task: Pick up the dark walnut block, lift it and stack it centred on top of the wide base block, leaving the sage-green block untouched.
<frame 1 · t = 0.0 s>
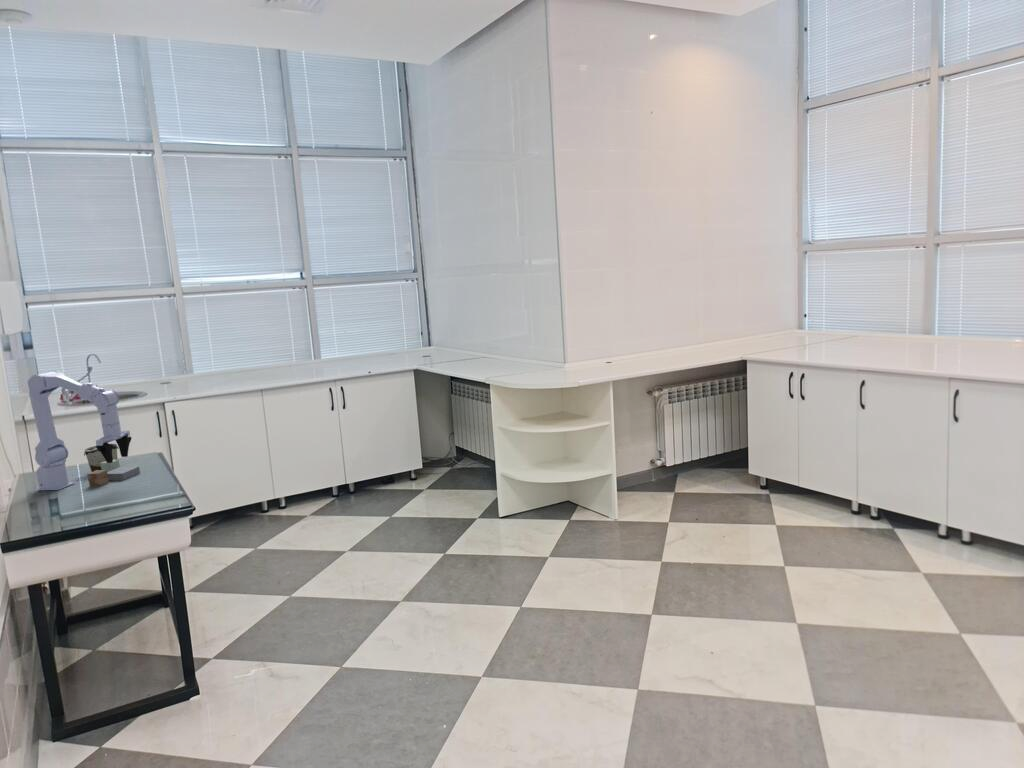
hand: (117, 459, 264), 10 cm above the table, fingers open, 7 cm apart
sage block: (111, 473, 286), on the table
base block: (122, 477, 279), on the table
food container: (103, 470, 292), on the table
walnut block: (99, 484, 270), on the table
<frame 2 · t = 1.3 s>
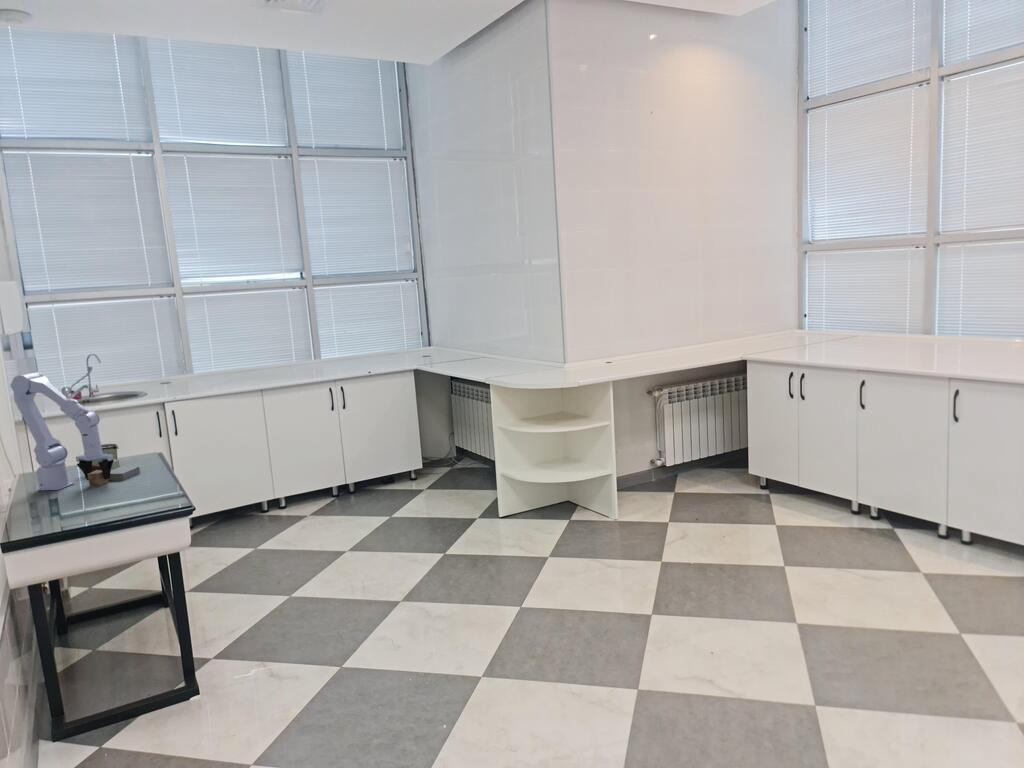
hand: (98, 479, 270), 2 cm above the table, fingers open, 7 cm apart
nothing on the table moved.
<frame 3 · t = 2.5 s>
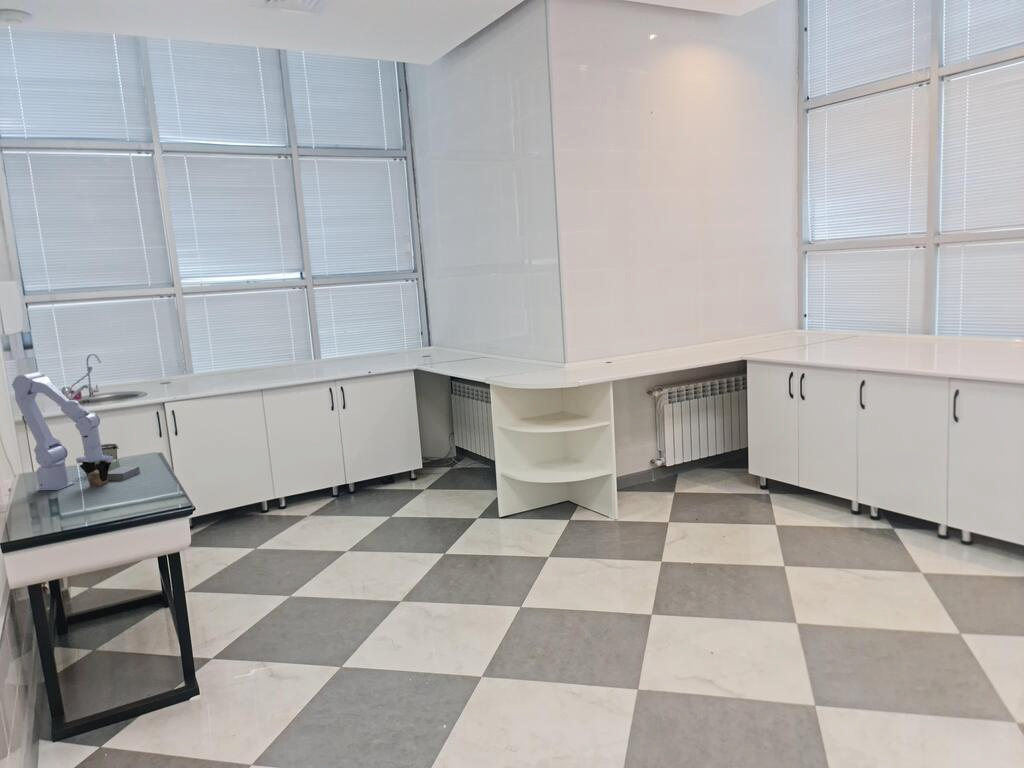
hand: (98, 480, 270), 1 cm above the table, fingers closed on walnut block, 4 cm apart
walnut block: (99, 484, 270), on the table, touching gripper
everything else where it was.
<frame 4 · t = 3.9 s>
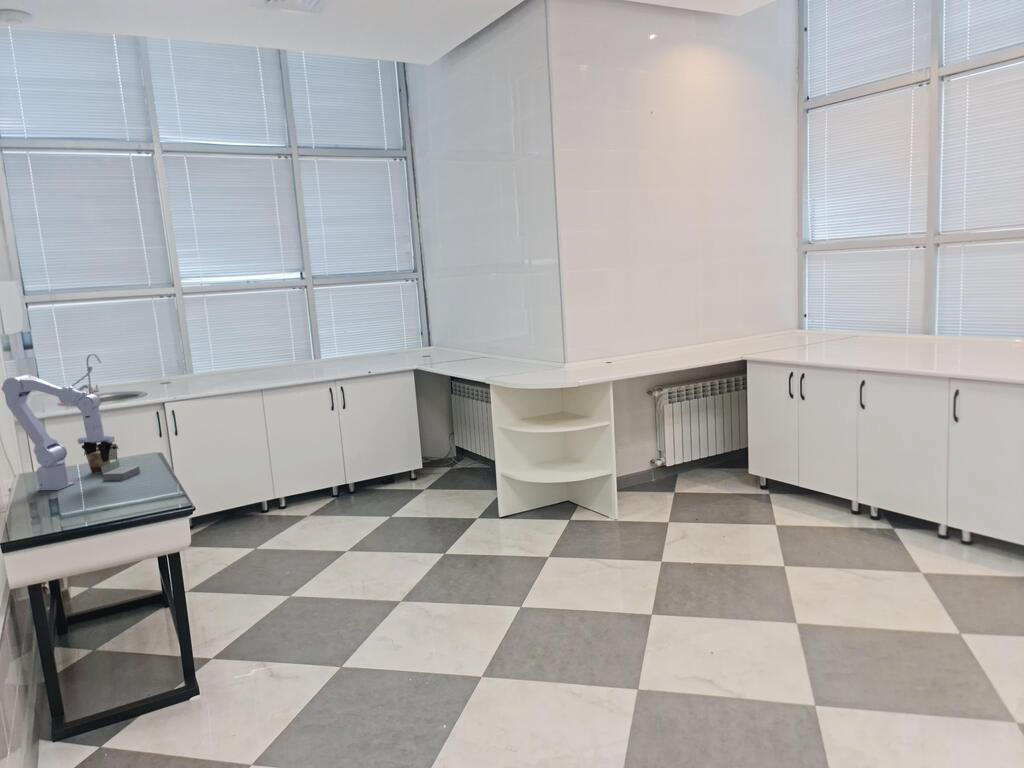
hand: (100, 461, 271), 8 cm above the table, fingers closed on walnut block, 4 cm apart
walnut block: (100, 465, 271), point 7 cm above the table, touching gripper
everything else where it was.
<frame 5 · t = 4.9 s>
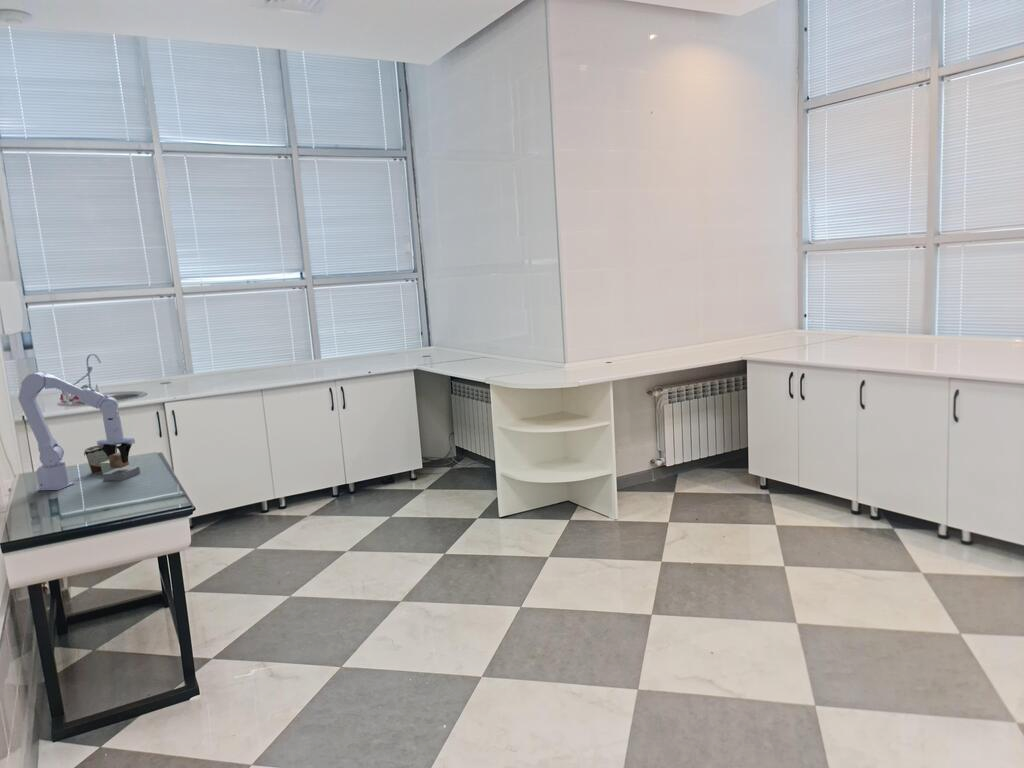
hand: (119, 462, 278), 6 cm above the table, fingers closed on walnut block, 4 cm apart
walnut block: (119, 466, 278), point 4 cm above the table, touching gripper
everything else where it was.
when the fingers open (6 cm above the table, at t = 5.7 s): walnut block drops 2 cm, resting on base block.
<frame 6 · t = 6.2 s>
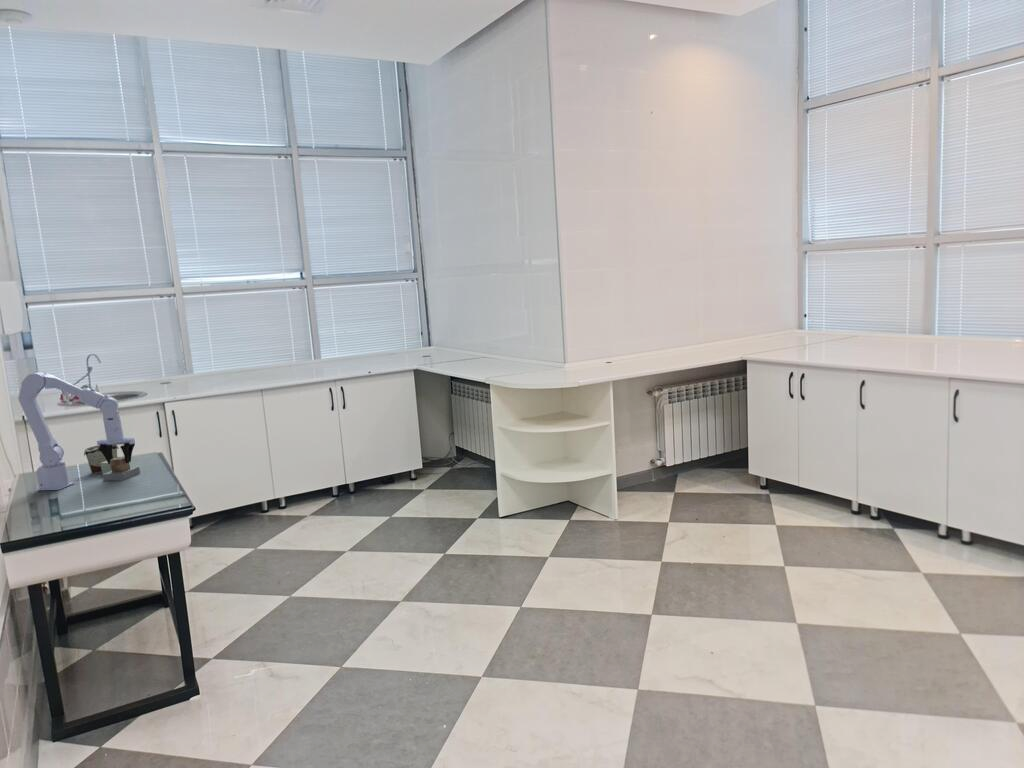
hand: (119, 462, 278), 6 cm above the table, fingers open, 7 cm apart
base block: (122, 477, 279), on the table, touching walnut block
walnut block: (121, 470, 278), point 2 cm above the table, touching base block
everything else where it was.
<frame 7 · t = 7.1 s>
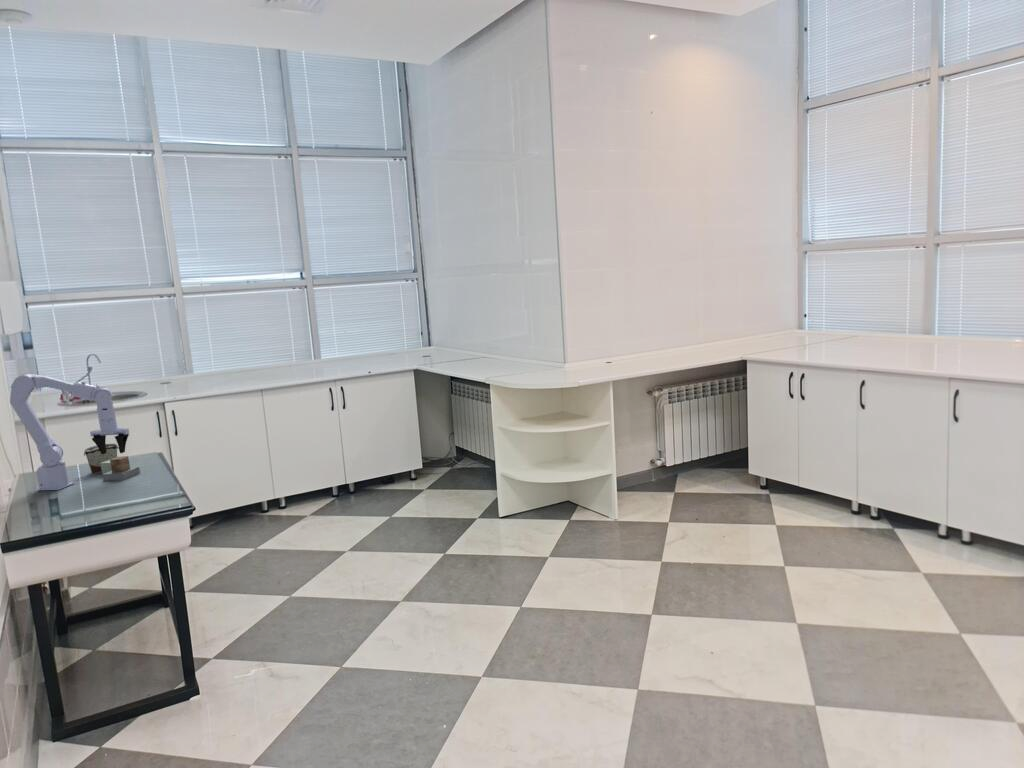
hand: (113, 453, 278), 10 cm above the table, fingers open, 7 cm apart
nothing on the table moved.
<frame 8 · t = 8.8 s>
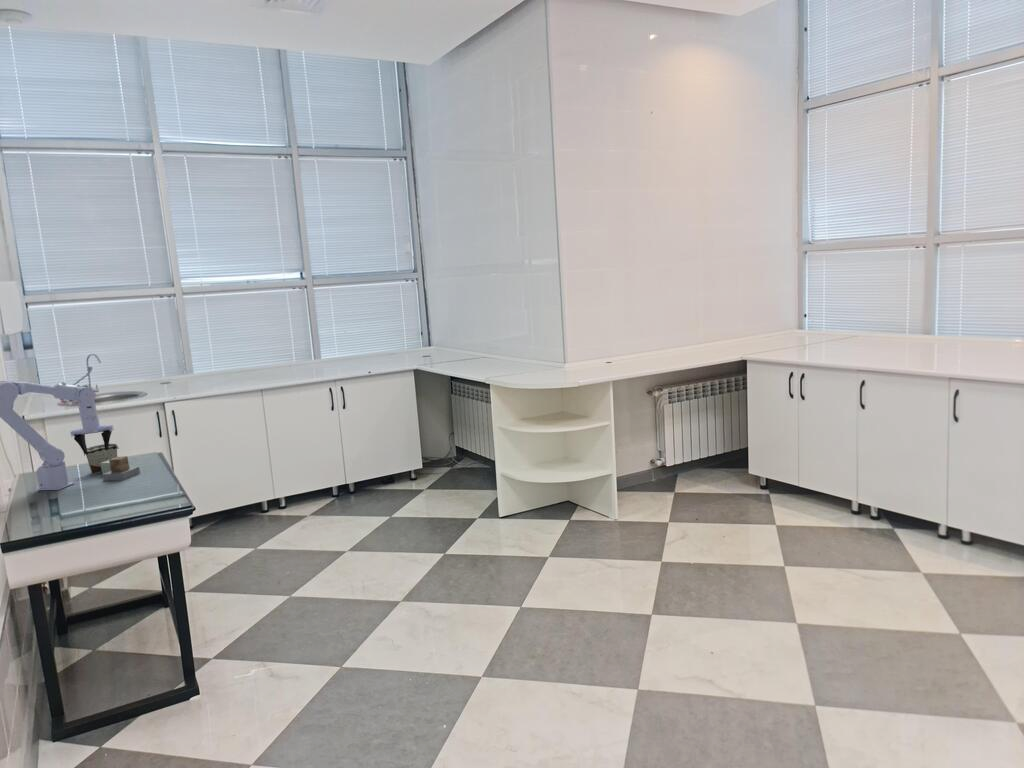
hand: (96, 451, 280), 10 cm above the table, fingers open, 7 cm apart
nothing on the table moved.
at the end: walnut block 0.2 cm off-centre on the base block, point 3.0 cm above the base block's base; walnut block tilted 1°; the gripper is holding nothing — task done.
